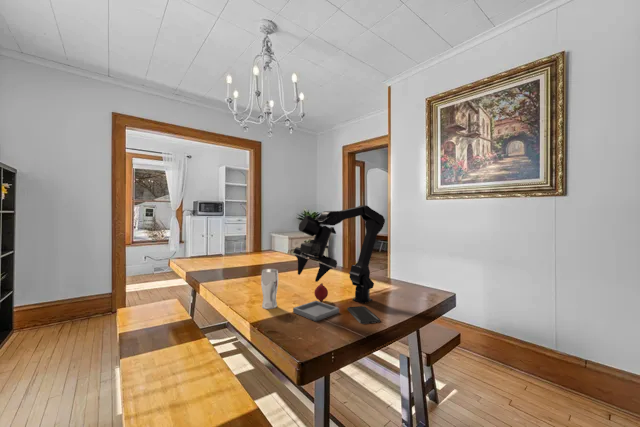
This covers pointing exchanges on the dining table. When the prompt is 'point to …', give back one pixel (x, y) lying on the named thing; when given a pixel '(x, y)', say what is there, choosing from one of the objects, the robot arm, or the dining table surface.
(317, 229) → the robot arm
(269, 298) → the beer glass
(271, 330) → the dining table surface
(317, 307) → the tray
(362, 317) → the phone
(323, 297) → the onion
